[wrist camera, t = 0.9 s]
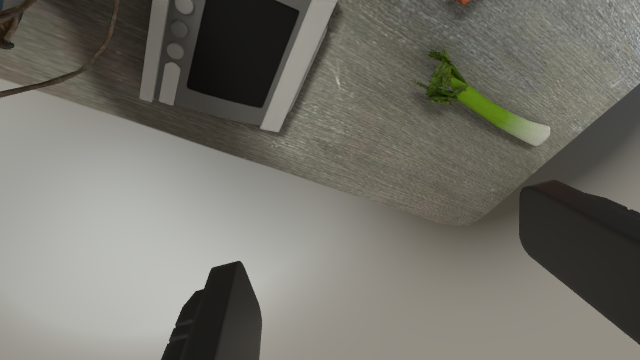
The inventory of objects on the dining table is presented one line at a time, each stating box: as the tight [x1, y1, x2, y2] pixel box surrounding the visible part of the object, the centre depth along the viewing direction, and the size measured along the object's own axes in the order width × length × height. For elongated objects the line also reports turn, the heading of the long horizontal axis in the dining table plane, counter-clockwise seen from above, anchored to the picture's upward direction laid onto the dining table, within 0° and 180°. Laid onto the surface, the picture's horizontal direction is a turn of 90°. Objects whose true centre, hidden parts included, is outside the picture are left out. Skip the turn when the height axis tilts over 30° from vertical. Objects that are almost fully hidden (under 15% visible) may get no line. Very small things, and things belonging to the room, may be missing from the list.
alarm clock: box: [139, 0, 337, 132], centre depth 34 cm, size 17×5×16 cm
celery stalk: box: [410, 46, 550, 146], centre depth 45 cm, size 6×7×30 cm
